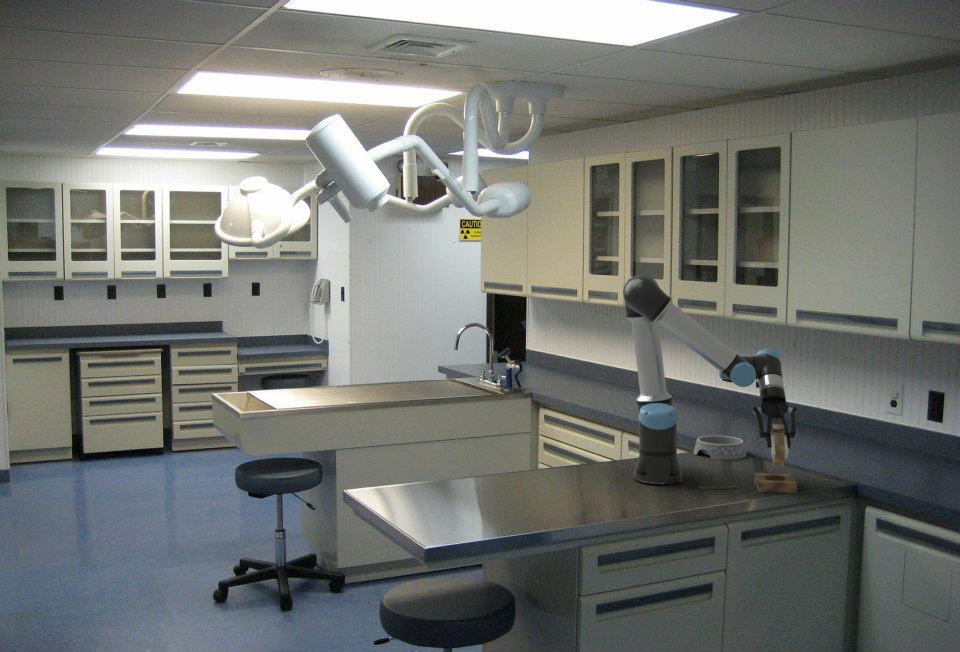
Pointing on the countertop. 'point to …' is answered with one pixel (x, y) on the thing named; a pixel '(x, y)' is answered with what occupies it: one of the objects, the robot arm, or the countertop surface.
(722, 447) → the dog bowl
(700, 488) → the lace
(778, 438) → the wooden peg
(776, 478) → the square wooden tray
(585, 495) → the countertop surface
